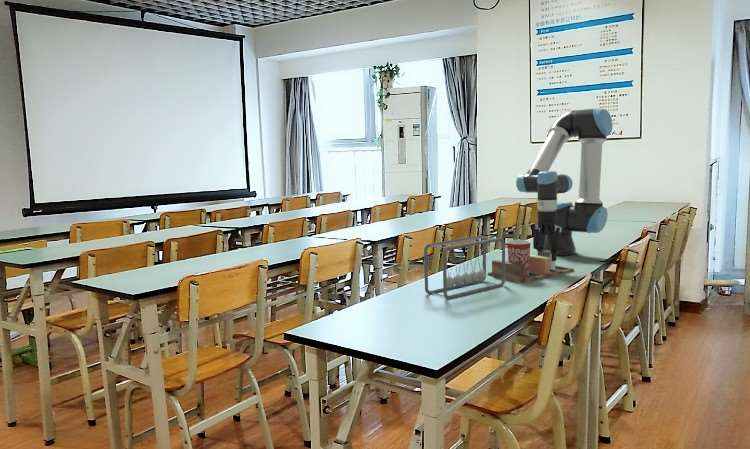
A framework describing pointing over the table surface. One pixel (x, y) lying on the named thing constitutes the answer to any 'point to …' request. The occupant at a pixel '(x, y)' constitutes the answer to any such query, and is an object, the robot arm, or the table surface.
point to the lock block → (544, 253)
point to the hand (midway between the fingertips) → (546, 267)
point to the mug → (519, 253)
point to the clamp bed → (520, 271)
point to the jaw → (539, 264)
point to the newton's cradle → (465, 278)
